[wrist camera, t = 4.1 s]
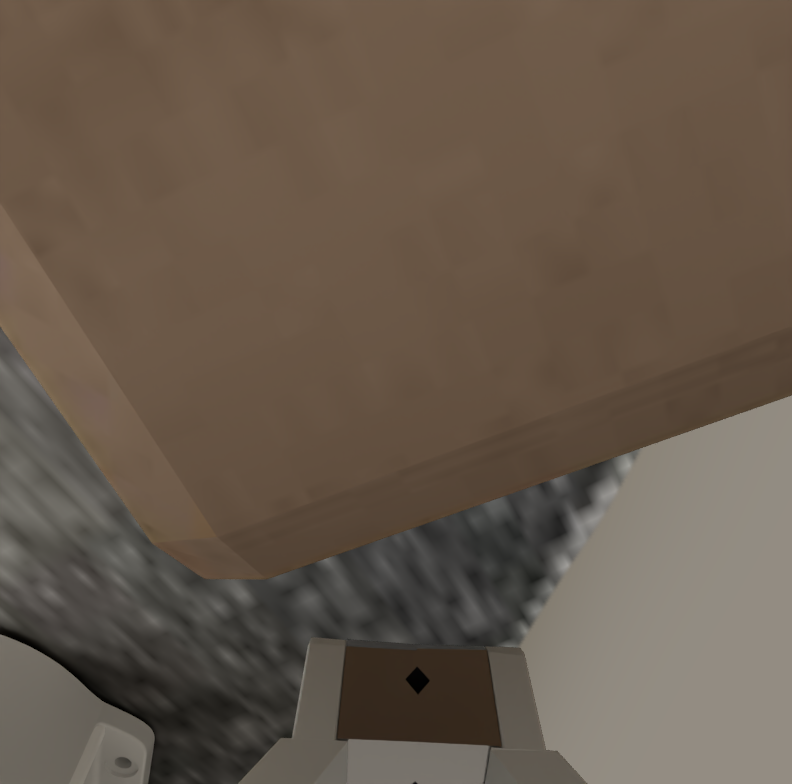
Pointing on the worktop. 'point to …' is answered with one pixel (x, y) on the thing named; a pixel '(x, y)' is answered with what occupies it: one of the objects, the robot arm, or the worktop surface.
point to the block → (388, 248)
